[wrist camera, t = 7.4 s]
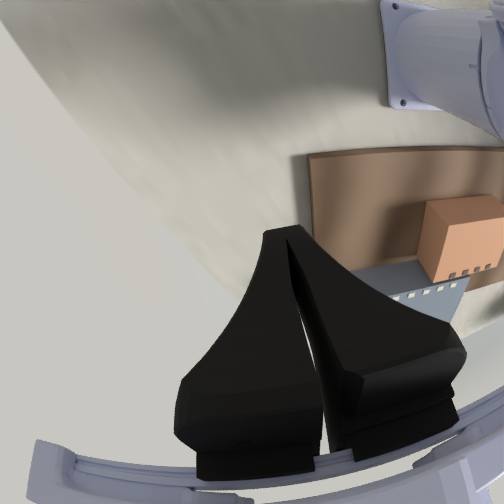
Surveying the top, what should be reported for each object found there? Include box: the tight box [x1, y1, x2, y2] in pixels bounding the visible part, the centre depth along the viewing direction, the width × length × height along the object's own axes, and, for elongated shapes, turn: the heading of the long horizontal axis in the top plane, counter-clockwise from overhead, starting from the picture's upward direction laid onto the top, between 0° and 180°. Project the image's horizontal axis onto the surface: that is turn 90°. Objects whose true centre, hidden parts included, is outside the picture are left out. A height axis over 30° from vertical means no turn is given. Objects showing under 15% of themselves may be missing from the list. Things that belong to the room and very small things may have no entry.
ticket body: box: [350, 259, 471, 323], centre depth 25 cm, size 14×7×4 cm, turn 99°
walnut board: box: [307, 146, 504, 292], centre depth 23 cm, size 28×17×1 cm, turn 99°
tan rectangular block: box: [416, 195, 504, 283], centre depth 20 cm, size 8×6×4 cm
